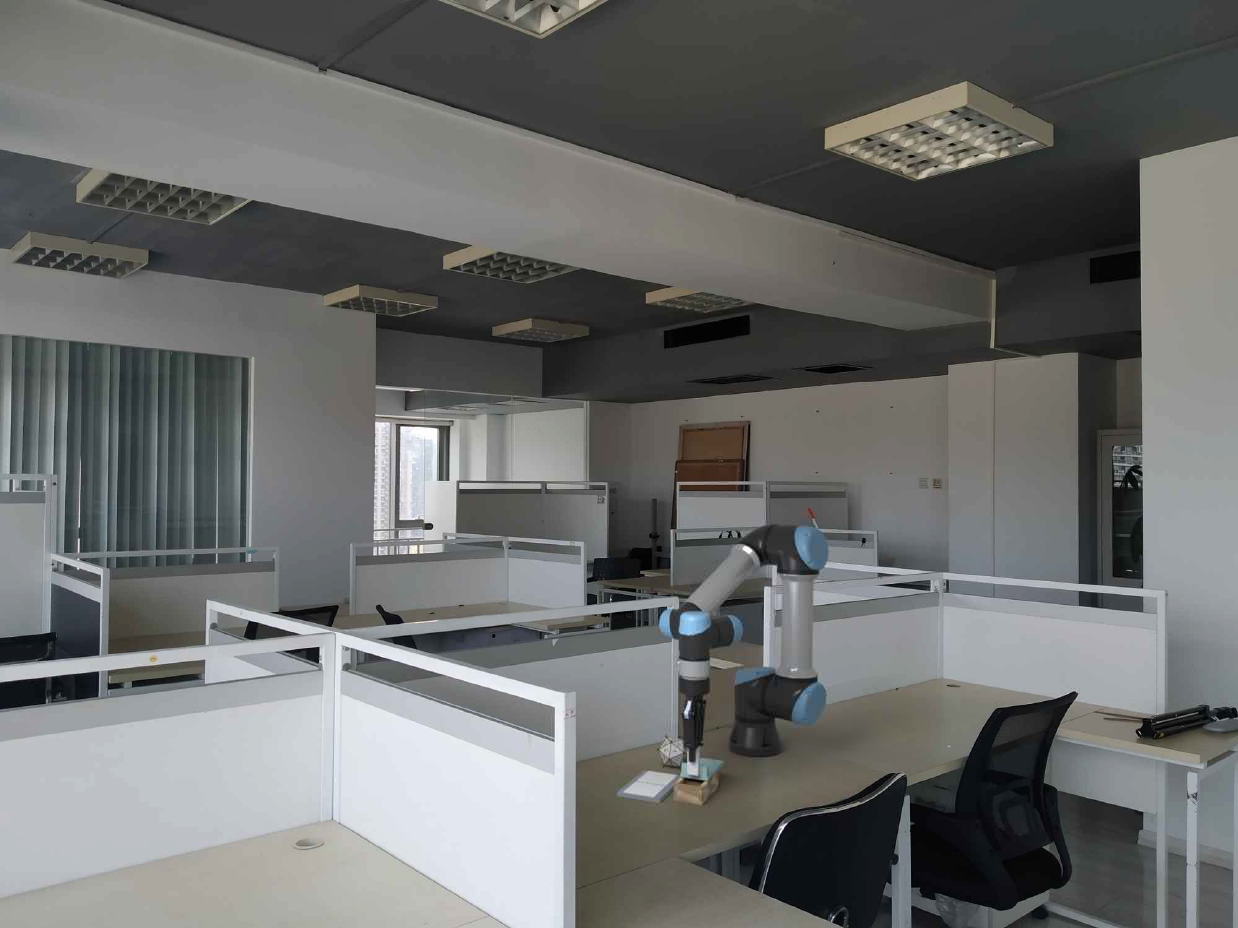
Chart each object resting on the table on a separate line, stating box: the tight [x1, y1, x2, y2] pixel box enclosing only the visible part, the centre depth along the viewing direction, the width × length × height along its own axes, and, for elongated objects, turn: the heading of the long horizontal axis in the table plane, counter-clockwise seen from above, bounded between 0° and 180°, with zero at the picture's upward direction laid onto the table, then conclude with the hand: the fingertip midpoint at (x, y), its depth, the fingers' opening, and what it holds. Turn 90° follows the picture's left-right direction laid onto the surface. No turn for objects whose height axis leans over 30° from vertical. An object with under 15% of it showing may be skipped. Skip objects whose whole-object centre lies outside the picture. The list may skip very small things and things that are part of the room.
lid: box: [679, 757, 725, 781], centre depth 225 cm, size 14×7×3 cm, turn 157°
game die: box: [655, 734, 687, 770], centre depth 241 cm, size 9×8×10 cm
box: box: [673, 770, 719, 806], centre depth 220 cm, size 14×7×4 cm, turn 157°
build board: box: [616, 769, 681, 804], centre depth 224 cm, size 18×11×1 cm, turn 157°
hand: (693, 773), depth 218 cm, fingers closed
